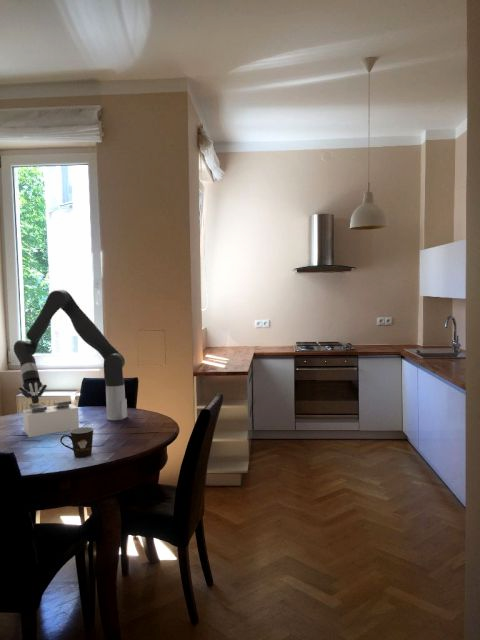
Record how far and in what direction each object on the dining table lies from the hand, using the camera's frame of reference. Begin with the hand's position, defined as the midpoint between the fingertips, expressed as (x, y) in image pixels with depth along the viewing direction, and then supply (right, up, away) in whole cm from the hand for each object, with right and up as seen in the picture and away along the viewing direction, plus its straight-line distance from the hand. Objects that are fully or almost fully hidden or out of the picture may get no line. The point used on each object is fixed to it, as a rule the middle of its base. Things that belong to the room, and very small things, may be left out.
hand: (36, 403), depth 222 cm
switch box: (+7, -12, 0) cm, 14 cm away
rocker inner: (+11, 0, +3) cm, 12 cm away
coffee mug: (+33, -14, -37) cm, 51 cm away
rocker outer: (+2, -1, -3) cm, 4 cm away
